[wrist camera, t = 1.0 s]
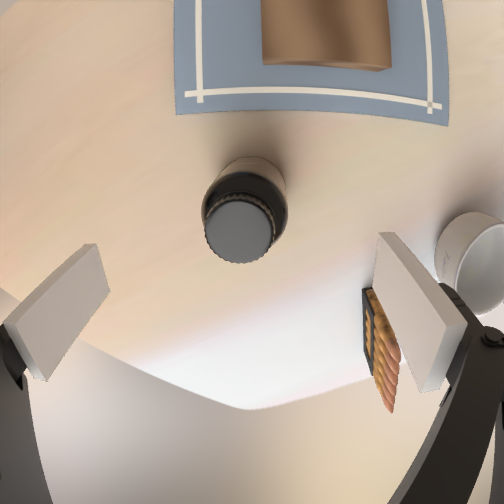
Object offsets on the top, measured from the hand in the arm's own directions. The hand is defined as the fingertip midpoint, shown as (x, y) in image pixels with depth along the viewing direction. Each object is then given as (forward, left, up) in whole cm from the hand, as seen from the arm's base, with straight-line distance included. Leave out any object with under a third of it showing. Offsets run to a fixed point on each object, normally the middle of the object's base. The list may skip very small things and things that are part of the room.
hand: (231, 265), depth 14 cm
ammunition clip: (+15, -18, -19) cm, 30 cm away
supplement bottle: (0, -1, -19) cm, 19 cm away
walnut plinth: (+7, +17, -18) cm, 26 cm away
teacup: (+27, -8, -19) cm, 34 cm away
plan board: (+7, +17, -19) cm, 26 cm away
